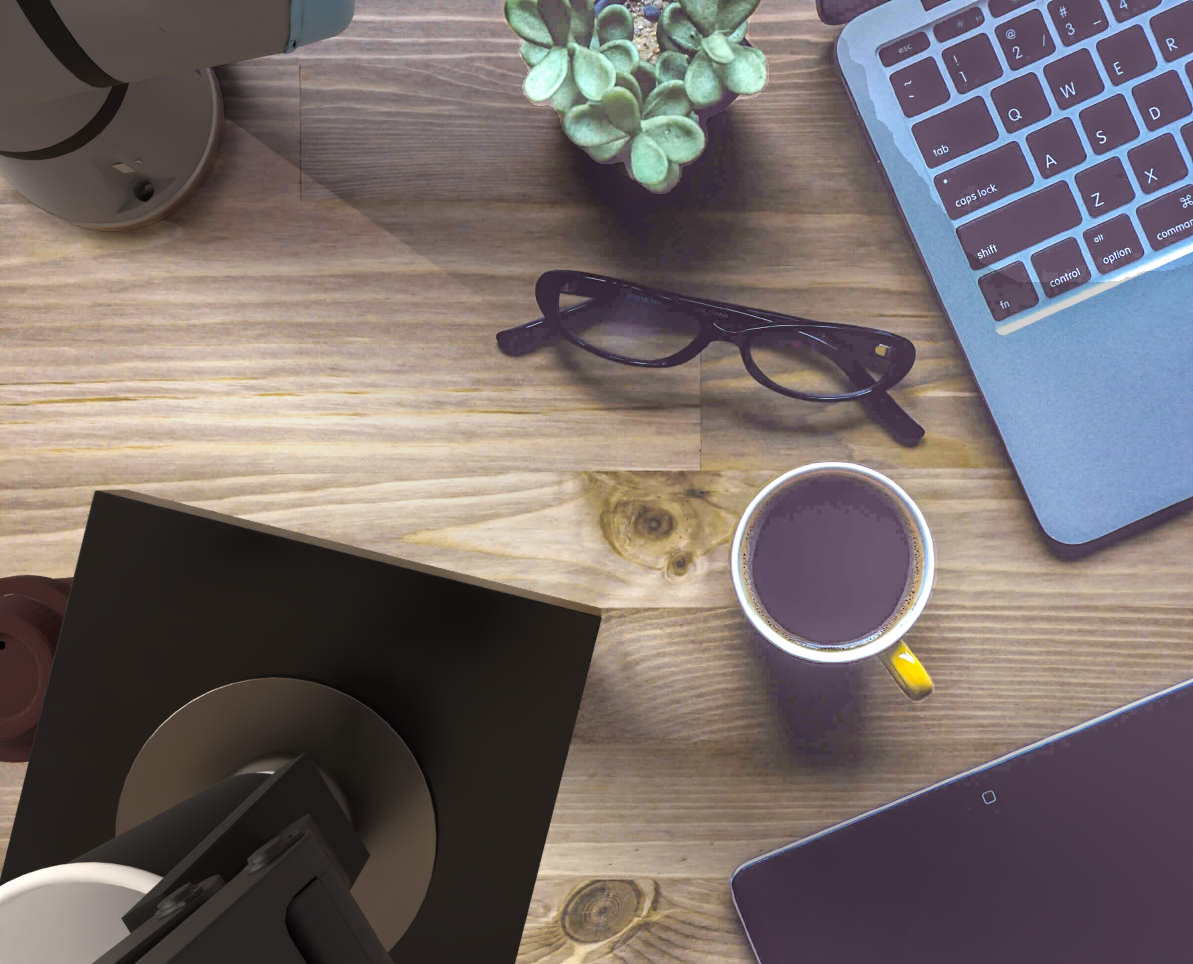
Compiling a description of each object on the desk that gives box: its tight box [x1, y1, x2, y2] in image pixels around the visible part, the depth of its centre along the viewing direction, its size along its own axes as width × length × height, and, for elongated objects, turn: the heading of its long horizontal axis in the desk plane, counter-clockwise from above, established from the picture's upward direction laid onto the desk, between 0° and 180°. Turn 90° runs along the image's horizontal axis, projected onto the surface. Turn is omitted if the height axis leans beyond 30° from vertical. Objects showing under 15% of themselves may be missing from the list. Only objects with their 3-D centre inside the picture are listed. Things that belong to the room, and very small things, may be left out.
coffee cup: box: [0, 574, 74, 764], centre depth 53 cm, size 10×10×15 cm
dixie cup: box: [0, 771, 274, 964], centre depth 25 cm, size 8×8×11 cm
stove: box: [0, 488, 603, 964], centre depth 31 cm, size 20×18×4 cm
